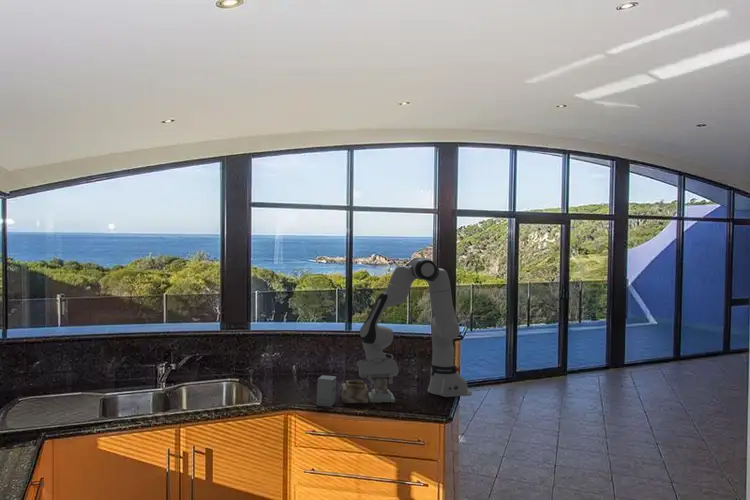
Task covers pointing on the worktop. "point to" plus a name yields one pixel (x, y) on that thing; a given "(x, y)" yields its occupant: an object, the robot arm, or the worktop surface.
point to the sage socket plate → (381, 397)
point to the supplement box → (326, 390)
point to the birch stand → (355, 392)
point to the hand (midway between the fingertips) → (382, 383)
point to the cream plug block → (381, 386)
